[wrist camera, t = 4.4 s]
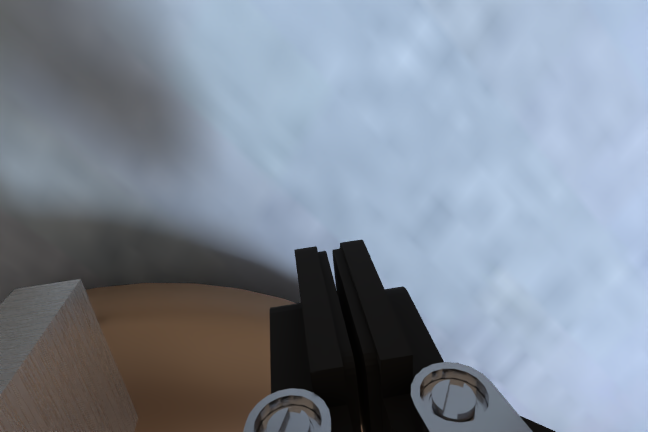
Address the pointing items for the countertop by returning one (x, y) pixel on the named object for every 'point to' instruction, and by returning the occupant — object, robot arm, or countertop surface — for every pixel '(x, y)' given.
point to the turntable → (133, 357)
